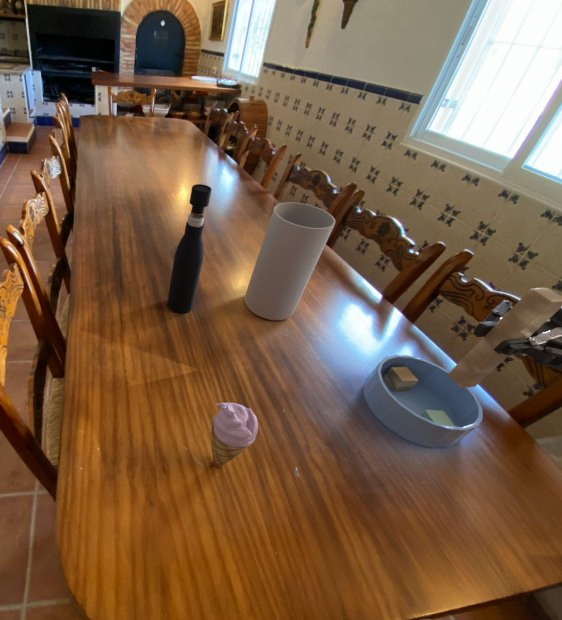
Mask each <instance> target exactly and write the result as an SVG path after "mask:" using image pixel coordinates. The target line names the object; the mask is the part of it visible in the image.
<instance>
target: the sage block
mask: <svg viewBox="0 0 562 620" xmlns="http://www.w3.org/2000/svg"><path fill="white" fill-rule="evenodd" d="M420 416H422V417H424V418H426V419H428V420H430V421H432V422H435V423H438V424H442V425H445V426H449V427H456V426H455V425H454V424H453V422H452V421H451V420H450V419H449V417H448V416H447V415H446V413H445V412H444V411H433V410H425V411H424V412H423V413H422V414H421V415H420Z"/></svg>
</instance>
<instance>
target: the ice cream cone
mask: <svg viewBox="0 0 562 620" xmlns="http://www.w3.org/2000/svg"><path fill="white" fill-rule="evenodd" d="M215 405H216V407H219V411H218V412H217V414H216V415H215V416H214V417H213V418H212V420H211V425H210V426H211V427H210V430H211V431H210V442H211V443H210V444H211V455H212V463H213V465H214V467H216V468H220V467H222V466H224V465H226V464H227V463H229V462H230V461H232V460H234V459H235V458H236V457H238V456H239V455H240V454H241V453H243V452H244V451H245V450H246V449H247V448H248V447H249V446H252V445H253V443H254V442H255V440H256V436H257V434H258V431H259V424H258V417H257V416H256V414H255V413H254V412H253V410H252V409H251V408H250V407H245V405H242V404H240V403H236V402H216V404H215Z"/></svg>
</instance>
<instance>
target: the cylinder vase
mask: <svg viewBox="0 0 562 620" xmlns="http://www.w3.org/2000/svg"><path fill="white" fill-rule="evenodd" d="M335 225H336V218H335V217H334V216H333V215H332V214H331V213H330V212H328V211H326V210H324V209H322V208H320V207H317V206H314V205H310V204H307V203H301V202H296V201H295V202H294V201H293V202H292V201H291V202H290V201H289V202H280V203H278V204H276V205H275V206H274V207H273V210H272V213H271V216H270V219H269V222H268V224H267V228H266V231H265V235H264V237H263V240H262V243H261V246H260V248H259V252H258V255H257V259H256V261H255V264H254V267H253V270H252V273H251V276H250V279H249V283H248V285H247V288H246V291H245V293H244V299H243V301H244V303H245V305H246V308H247V309H248V310H250V312H252V313H253V314H254V315H256V316H258V317H260V318H263V319H265V320H270V321H284V320H287V319H289V318H291V317H292V316H293V315H294V313H295V311H296V309H297V307H298V305H299V303H300V301H301V299H302V296H303V294H304V292H305V290H306V287H307V286H308V283H309V281H310V279H311V277H312V275H313V272H314V270H315V268H316V266H317V264H318V261H319V259H320V257H321V255H322V253H323V251H324V248H325V246H326V244H327V243H328V240H329V238H330V236H331V234H332V232H333V229H334V227H335Z"/></svg>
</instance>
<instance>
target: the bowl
mask: <svg viewBox="0 0 562 620" xmlns="http://www.w3.org/2000/svg"><path fill="white" fill-rule="evenodd" d="M391 367H408V369H409V370H410V371H411V372H412V373H413V375H414V376H415V377H416V378H417V379H418V380H419V381H418V382H417V383H416V384H415V385H414V386H413V387H412V388H411V389H410V391H404V392H393V391H392V390H391V388H390V387H389V386H388V384H387V383H386V382H385V381H384V379H383V377H384V376H385V375H386V373H387V372H388V371H389V370H390V369H391ZM449 372H450V371H448V370H447V369H446V368H443V367H441V366H440V365H438V364H435V363H433V362H431V361H428V360H426V359H423V358H420V357H416V356H412V355H405V354H394V355H389V356H385V357H384V358H383V359H382V360H381V361H379V362H378V364H377V365H376V366H375V367H374V369H373V371H372V372H371V373H370V374H369V376H368V377H367V378H366V379H365V382H364V384H363V386H362V387H363V388H362V393H363V397H364V400H365V403H366V405H367V407H368V409H369V410H370V411H371V413H372V414H373V416H375V417H376V418H377V420H378V421H380V422H381V423H382V424H383V426H385V427H386V428H387V429H389V431H391V432H393V433H395V434H396V435H397V436H400V437H402V438H403V439H405V440H406V441H409V442H410V443H413V444H416V445H419V446H423V447H427V448H430V449H431V448H432V449H446V448H449V447H452V446H454V445H456V444H458V443H459V442H460V441H462V440H464V438H465V437H466V436H467V435H469V434H470V433H472V432H473V431H474V430H475V429H476V428H477V427H478V426H479V425H480V424H481V422H482V421H483V419H484V415H483V413H484V412H483V407H482V405H481V402H480V401H479V399H478V397H477V396H476V394H475V393H474V392H473V391H472V390H471V389H470V387H466V388H460V387H459V386H458V385H457V384H456V383H455V382H454V381H453V380H452V379H451V378H450V377H449V376H448V375H447V374H448V373H449ZM425 410H433V411H444V412H445V413H446V415H447V416H448V417H449V419H450V420H451V421H452V422H453V424H454V425H455V426H456V427H449V426H445V425H442V424H438V423H435V422H432V421H430V420H428V419H426V418H424V417H422V416H420V415H421V414H422V413H423V412H424V411H425Z"/></svg>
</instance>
